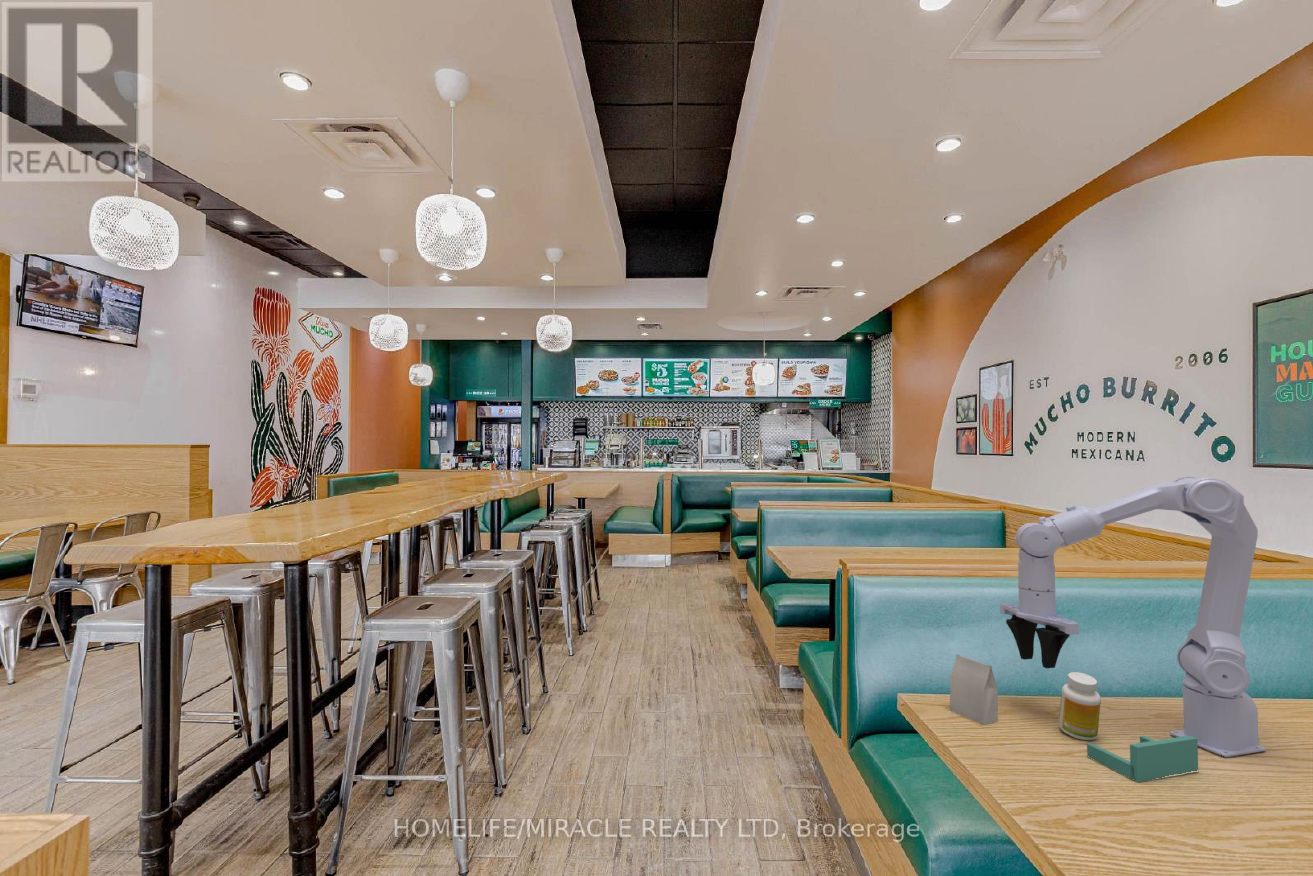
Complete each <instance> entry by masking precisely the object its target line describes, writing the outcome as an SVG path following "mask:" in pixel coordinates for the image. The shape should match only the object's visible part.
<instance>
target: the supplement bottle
mask: <svg viewBox="0 0 1313 876" xmlns="http://www.w3.org/2000/svg"><path fill="white" fill-rule="evenodd" d="M1066 679H1067V680H1066V681H1067V683H1065V684H1064V685H1063V686H1062V688H1061V690H1060V691H1061V694H1060V705H1059V714H1058V726H1059V728H1060V729H1061V731H1063V732H1064V733H1065V734H1067V735H1069V736H1070V737H1072V738H1075V739H1078V740H1081V741H1093V740H1095V739H1097V738H1098V733H1099V724H1100V722H1099V721H1100V713H1101V711H1100V710H1101V702H1102V698H1101V696H1100V694H1099V692H1097V690H1098V689H1097V688H1098V680H1096V678H1094V677H1093V676H1091V675H1089V674H1087V673H1084V672H1078V671H1072V672H1069V673H1068V674H1067V678H1066Z"/></svg>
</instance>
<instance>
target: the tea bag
mask: <svg viewBox="0 0 1313 876" xmlns="http://www.w3.org/2000/svg"><path fill="white" fill-rule="evenodd" d="M998 691H999V689H998V686H997V683H996V680H995V677H994V672H993V668H992V665H989V664H986V663H983V662H980V661H978V660H975V659H972V658H969V657H966V656H963V655H960V654H956V655H955V660H954V664H953V667H952V671H951V674H950V678H949V698H950V699H949V701H950V703H949V704H950V705H949V706H950V707H949V708H950V709H949V710H950V711H952V712H953V713H956V714H958V715H960V716H962V717H965V718H967V719H969V720H972V721H973V722H976V723H978V724H980V725H982V726H987V725H991V724H995V723H998V722H999V712H998V711H999V705H998V703H999V699H998V698H999V697H998V695H999V692H998Z"/></svg>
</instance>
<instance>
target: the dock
mask: <svg viewBox="0 0 1313 876" xmlns="http://www.w3.org/2000/svg"><path fill="white" fill-rule="evenodd" d="M1086 747H1087V749H1086V751H1087V752H1086V753H1087V754H1086V755H1087V756H1089V757H1090V758H1089V757H1088V758H1089V759H1091V758H1092V759H1091V760H1093V759H1094V760H1096V761H1098V762H1100V763H1101V764H1100V763H1099V764H1100V765H1102V764H1103V765H1102V766H1104V765H1106V766H1108V767H1109V768H1108V767H1107V768H1108V769H1110V770H1112V769H1114V770H1116V771H1117V772H1116V771H1115V772H1116V773H1118V772H1119V773H1118V774H1120V773H1121V774H1120V775H1122V774H1123V775H1122V776H1124V775H1125V776H1124V777H1126V778H1128V777H1129V778H1128V779H1130V778H1131V779H1130V780H1132V779H1134V780H1135V781H1136V782H1135V781H1134V780H1133V781H1134V782H1135V783H1137V782H1139V783H1144V782H1143V781H1145V782H1149V781H1148V780H1151V781H1153V780H1152V779H1156V778H1162V777H1165V776H1169V775H1174V774H1182V773H1186V772H1191V771H1197V770H1198V771H1199V750H1198V749H1199V748H1198V747H1199V746H1198V739H1197V738H1195V737H1192V736H1183V737H1171V738H1164V739H1163V738H1162V739H1156V740H1155V739H1153V738H1150V737H1148V736H1146V735H1141V736H1139V742H1136V743H1135V742H1134V743H1130V744H1129V756H1130V757H1129V760H1128V759H1125V758H1123V757H1121V756H1119V755H1117V754H1115V753H1113V752H1111V751H1109V750H1107V749H1106V748H1103V747H1100V746H1099V745H1096V744H1095V743H1087V744H1086ZM1094 760H1093V761H1094ZM1096 761H1095V762H1096ZM1098 762H1097V763H1098ZM1106 766H1105V767H1106ZM1114 770H1113V771H1114Z"/></svg>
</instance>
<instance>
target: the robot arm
mask: <svg viewBox="0 0 1313 876" xmlns="http://www.w3.org/2000/svg"><path fill="white" fill-rule="evenodd" d="M1244 497H1245V496H1244V494H1242V493H1241V492H1240V491H1238V490H1237V489H1236V488H1234V487H1233V486H1232V485H1231V484H1229V483H1228V482H1227V481H1225V480H1222V479H1219V478H1214V477H1205V478H1203V477H1202V478H1198V477H1195V476H1193V477H1191V476H1185V477H1178V478H1176V479H1174V480H1173V481H1170V480H1169V481H1165V482H1160V483H1157V484H1154V485H1151V486H1148V487H1146V488H1143V489H1140V490H1138V491H1134V492H1132V493H1130V494H1127V495H1125V496H1123V497H1121V498H1118V499H1116V500H1113V501H1110V502H1108V503H1105V504H1102V505H1100V506H1098V507H1095V508H1092V507H1089V506H1086V505H1082V504H1081V505H1079V506H1076V505H1074V504H1071V505H1068V506H1066V507H1065V509H1066V510H1065V511H1062V512H1060V513H1056V514H1054V515H1051V516H1048V517H1046V516H1041V517H1038V521H1039V522H1027V523H1025V524H1023V525H1021V526H1020V527H1019V528H1018V529H1017V531H1016V534H1015V536H1014V540H1015V541H1014V542H1016V544H1017V546H1018V547H1019V549H1018V559H1019V560H1018V562H1017V569H1018V570H1017V571H1018V572H1017V573H1018V574H1017V575H1018V576H1017V577H1018V578H1017V579H1018V580H1017V581H1018V583H1017V585H1018V604H1014V603H1010V602H1006V603H1005V602H1002V603H1001V602H1000V604H999V605H1000V606H999V607H1000V609H999V611H1000V614H1002V615H1009V616H1011V617H1010V618H1008V619H1006V622H1005V624H1006V625H1007V626H1008V628H1009V629H1010V631H1011V633H1012V635H1013V638H1014V640H1015V643H1016V647H1017V649H1018V652H1019V657H1020V659H1021V660H1024V661H1025V660H1032V659H1033V658H1034V653H1035V652H1034V648H1035V643H1034V642H1035V636H1036V634H1037V637H1038V641H1039V645H1040V653H1041V657H1040V658H1041V664H1042V668H1044V669H1055V668H1056V665H1057V662H1058V659H1059V656H1060V652H1061V650H1062V648H1063V646H1064V644H1065V642H1066V641H1067V639H1069V637H1070V636H1071V635H1079V634H1080V633H1079V632H1080V630H1079V629H1080V627H1079V626H1080V625H1079V622H1077V621H1073V620H1070V619H1068V618H1066V617H1064V616H1062V615H1059V614H1057V611H1056V607H1057V606H1056V565H1055V556H1054V555H1055V553H1056V552H1057V550H1058V548H1059V547H1060V548H1065V547H1068V546H1071V545H1074V544H1076V543H1079V542H1083V541H1086V540H1089V539H1092V538H1095V537H1097V536H1100V535H1101V534H1102V532H1103V529H1104V527H1105V526H1106V525H1110V524H1112V523H1116V522H1119V521H1122V520H1126V519H1129V518H1133V517H1135V516H1138V515H1141V514H1145V513H1148V512H1152V511H1154V510H1163V511H1164V510H1165V511H1175V512H1176V511H1177V512H1181V513H1182V514H1184V515H1186V516H1188V517H1190V518H1192V519H1194V520H1196V522H1197V523H1198V524H1199V525H1200V526H1202V527H1203V529H1205V530H1206V531H1207V532H1208V533H1209V534H1210V535H1211V540H1210V544H1209V545H1210V546H1209V551H1208V556H1207V561H1206V567H1205V573H1204V579H1203V584H1202V589H1201V596H1200V599H1199V600H1200V601H1199V607H1198V611H1197V618H1196V623H1195V625H1194V626H1193V627H1192V628H1191V629H1190V630H1189V631H1188V632H1187V636H1186V640H1185V642H1184V643H1183V644H1182V645H1181V646H1179V648H1178V650H1177V652H1176V660H1177V663H1178V665H1179V667H1180V668H1181V669H1182V671H1183V672H1185V675H1184V677H1183V679H1182V700H1183V701H1182V704H1183V729H1179V730H1171V731H1170V733H1169V734H1170V736H1172V737H1174V738H1176V737H1183V736H1192V737H1195V738H1197V739H1198V747H1199V748H1201V747H1202V748H1201V749H1204V750H1205V751H1208V752H1210V753H1211V752H1212V753H1214V754H1216V755H1219V756H1221V755H1222V756H1221V757H1223V756H1224V758H1229V757H1236V756H1241V755H1248V754H1254V753H1261V752H1265V751H1267V747H1265V746H1263V745H1259V744H1260V743H1259V742H1260V741H1259V740H1260V739H1259V710H1258V707H1257V703H1255V700H1253V698H1252V697H1251V696H1250V695H1249V694H1248V693H1247V692H1245V691H1247V689H1248V688H1249V686H1250V684H1251V683H1250V682H1251V677H1250V674H1249V671H1248V669H1247V665H1246V660H1247V659H1246V658H1247V654H1246V650H1245V649H1244V648H1245V647H1244V646H1243V643H1242V641H1241V638H1240V636H1241V630H1242V625H1243V619H1244V613H1245V608H1246V603H1247V595H1248V593H1249V592H1248V590H1249V585H1250V580H1251V574H1252V569H1253V563H1254V558H1255V552H1256V546H1257V540H1258V535H1259V534H1258V533H1259V530H1258V527H1257V526H1256V523H1255V522H1254V520H1253V518H1252V516H1251V514H1250V512H1249V510H1248V509H1247V507H1246V505H1245V503H1244V502H1245V501H1244V500H1245V498H1244ZM1038 625H1041V626H1043V627H1038Z"/></svg>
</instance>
